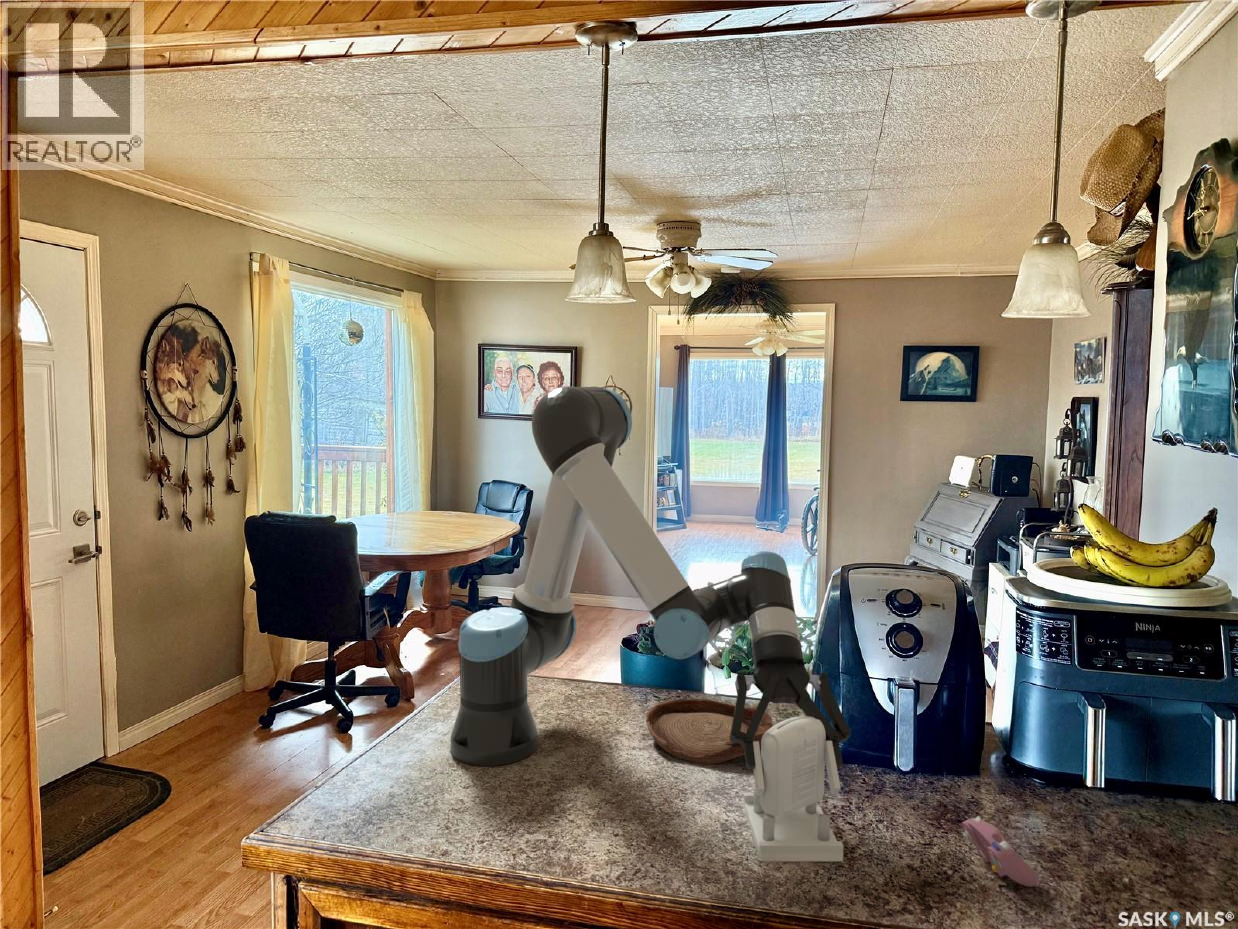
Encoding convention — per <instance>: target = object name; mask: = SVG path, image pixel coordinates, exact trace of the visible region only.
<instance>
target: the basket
mask: <svg viewBox="0 0 1238 929" xmlns="http://www.w3.org/2000/svg"><path fill="white" fill-rule="evenodd" d="M735 705H736V704H732V703H727V702H723V701H719V700H712V699H709V698H696V697H695V698H693V697H692V698H690V699H687V698H674V699H670V700H667V701H666V700H665V701H662V702H659V703H656V704H654V705H653V706H652V707H651V708H649V710H648V711H647V712H646V714H645V715H646V716H645V722H646V727H647V730H648V731H649V733H650V735H651V737H652V738H653V740H654V741H655V743H656V744H657V745H658V746H659V747H661V748H662V749H663V750H664V751H665V752H667V753H668V754H669V755H671V756H674V757H676V758H678V759H681V760H685V761H688V762H692V763H698V764H702V763H704V765H705V764H706V765H708V764H712V765H713V764H714V765H715V764H719V763H723V762H727V761H729V760H732V759H735V758H739V757H742V756H744V748H743V747H742V745H741V744H739V743H732V742H731V741H730V734H731V728H732V722H733V716H734V711H735ZM757 707H758V706H753V707H751V706H746V705H745V706H744V712H743V718H742V724H741V730H740V731H741V732H744V733H746V732H747V729H748V727H749V725H750V723H751V720H752V718H753V716H754V714H755V711H756V709H757ZM771 727H773V718H772V716H771V714H770V713H768V711H767V710H766V711H765V714H764V716H763V718H762V721H761V723H760V725H759V727H758V730H757V732H756V734H755V737H754V739H753V741H759V747H760V749H761V741H762V737H763V735H764V733H765V732H766V731H768V730H769V729H770V728H771Z"/></svg>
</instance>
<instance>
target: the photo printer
mask: <svg viewBox="0 0 1238 929" xmlns="http://www.w3.org/2000/svg"><path fill="white" fill-rule="evenodd" d="M825 743H826V733H825V729H824V726H823V724H822V722H821V721H820V720H818V719H815V718H814V717H809V716H806V715H800V716H795V717H790V718H787V719H784V720H782V721H779V722H778V723H776V724H774V725H772V727H771V728H770V729H769V730H768V731H766V732H765V733H764V735H763V737H762V741H761V748H760V755H761V763H762V771H763V780H764V788H765V789H764V791H763V794H762V795H760V805H761V806H762V809H763V811H764V812H765V813H767V814H769V815H772V816H781V815H785V814H788V813H790V812H793V811H796V810H798V809H801V808H803V807H806V806H808V805H811V804H813V803H816V802H818V803H819V802H820V801H821V800H823V798H824V793H825V770H826V769H825V768H826V763H825Z"/></svg>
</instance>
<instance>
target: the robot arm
mask: <svg viewBox="0 0 1238 929" xmlns="http://www.w3.org/2000/svg"><path fill="white" fill-rule="evenodd" d="M632 428H633V416H632V413H631V409H630V407H629V406H628V403H627V402H626V400H625V399H624V398H623V396H621V395H620V394H619V393H617V392H616V391H614V390H611V389H608V388H604V387H600V386H596V385H593V386H592V385H591V386H571V385H570V386H560V387H559V386H558V387H557V388H553V389H552V390H549V391H548V392H547V393H546V394H544V395H542V397H541V398H540V399H539V400H538V402H537V403H536V406H535V408H534V410H533V413H532V417H531V431H532V436H533V438H534V442H535V444H536V447H537V450H538V452H539V454H540V456H541V458H542V460H543V461H544V463H545V464H546V466H547V468H548V470H549V471H550V472H551V478H550V482H549V486H548V489H547V490H548V491H547V493H546V497H545V501H544V506H543V510H542V514H541V517H540V521H539V525H538V530H537V533H536V537H535V542H534V546H533V549H532V553H531V556H530V561H529V566H528V569H527V573H526V577H525V579H524V580H525V581H524V583H522V584H520V585H518V586H517V587H515V589H514V590H513V595H512V599H511V602H510V606H509V607H507V606H506V607H505V606H504V607H502V606H501V607H500V606H497V607H491V608H490V609H482V610H479V611H477V612H474V613H473V614H471V615H468V616H467V618H465V620H464V621H463V622H462V623H461V625H460V628H459V639H458V645H457V646H458V651H459V652H458V653H459V655H458V656H459V696H460V697H459V698H460V700H459V701H460V702H459V704H460V705H459V708H458V711H457V714H456V715H457V716H456V718H455V722H454V724H453V727H452V731H451V733H450V753H451V755H452V756H453V757H454V758H455V759H457V760H458V761H460V762H463V763H465V764H469V765H474V766H481V767H483V766H487V767H491V766H492V767H493V766H494V767H495V766H505V765H508V764H513V763H516V762H519V761H522V760H523V759H526V758H528V757H530V756H531V755H532V754H533V753H534V752H535V751H536V750H537V748H538V744H539V742H538V740H539V737H538V734H539V733H538V729H537V726H536V723H535V720H534V717H533V714H532V711H531V708H530V705H529V703H528V675H530V674H531V673H533V672H534V671H536V670H538V669H540V668H542V667H544V666H545V665H547V664H549V663H551V662H553V661H555V660H556V659H558V658H559V657H561V656H562V655H563V654H564V653H565V652H567V650H568V649H569V648H570V646H572V643H573V642H574V640H575V638H576V635H577V628H578V627H577V626H578V625H577V624H578V623H577V617H576V616H574V608H575V601H574V599H573V598H572V596H571V594H570V592H571V588H572V586H573V585H572V584H573V580H574V576H575V573H576V569H577V566H578V563H579V559H580V555H581V551H582V547H583V543H584V540H585V536H586V532H587V529H588V524H589V522H591V524H592V525H593V527H594V528H595V530H596V532H597V534H598V535H599V537H600V538H601V540H602V541H603V543H604V544H605V546H606V547H607V549H608V550H609V552H610V553H611V555H612V557H613V558H614V559H615V561H616V563H617V564H618V565H619V567H620V569H621V570H622V571H623V573H624V574H625V576H626V578H627V579H628V581H629V583H630V584H631V586H632V587H633V589H634V591H635V592H636V593H637V595H638V596H639V597H640V600H641V601H642V602H643V604H644V606H645V607H646V609H647V610H648V612H649V614H650V616H651V617H652V619H653V620H654V622H655V624H654V627H653V637H654V642H655V645H656V646H657V648H658V649H659V650H660V652H662V653H663V654H664V655H665V656H667V657H669V658H671V659H675V660H684V659H687V658H690V657H691V658H692V656H694V655H695V654H698V653H700V652H701V651H703V650H704V648H705V647H706V646H707V645H708V644H709V643H710V642H711V641H712V640H713V639H715V638H716V637H717V636H718V635H720V633H721V632H723V631H724V630H725V629H727V628H730V627H733V626H735V625H739V624H741V623H744V622H748V626H749V635H750V642H751V645H752V647H751V652H752V659H753V668H754V671H753V672H754V673H753V674H749V675H747V674H746V675H745V674H744V673H743V672H739V673H737V675H736V678H735V682H734V685H735V689H736V690H735V691H736V693H737V694H736V700H735V704H734V705H735V711H734V716H733V722H732V728H731V734H730V741H731V742H732V743H739V744H741V745H742V747H743V748H744V755H743V757H744V762H745V763H744V764H745V768H746V769H747V770H753V778H754V786H755V789H756V795H762V794H763V791H764V789H765V788H764V780H763V771H762V763H761V748H760V747H759V741H753V739H754V737H755V734H756V732H757V730H758V727H759V725H760V723H761V721H762V718H763V716H764V714H765V711H766V712H767V709H768V707H769V704H770V703H771V702H772V704H780V703H785V704H794V703H795V704H796V706H797V708H798V709H800V710H802V712H803V713H804V716H809V717H814V718H815V719H818V720H820V721H821V722H822V724H823V726H824V729H825V733H826V742H825V768H826V769H825V770H826V773H827V779H828V784H829V792H830V795H832V796H833V795H834V796H835V795H838V793H839V791H840V790H841V789H842V788H841V782H840V778H839V772H838V769H840V768H841V767H842V765H843V761H844V760H843V757H842V751H841V747H840V744H842V743H846V742H847V741H848V739H849V738H850V735H851V733H852V732H851V730H850V728H849V725H848V723H847V721H846V719H845V717H844V715H843V712H842V710H841V709H840V706H839V704H838V702H837V700H836V698H835V696H834V694H833V691H832V690H831V688H830V681H829V675H828V674H827V673H826V672H821V673H820V674H810V673H809V671H807V669H806V666H805V660H804V655H803V649H802V648H803V647H802V643H801V641H800V638H801V637H800V632H799V625H798V622H797V615H796V610H795V605H794V598H793V591H792V586H791V583H792V581H791V578H790V574H789V571H788V566H787V563H786V561H785V559H784V558H783V557H782V556H781V555H780V554H778V553H776V552H773V551H764V550H763V551H755V552H753V553H751V554H748V556H747V557H746V558H744V559H743V560H742V561H741V567H740V568H741V569H740V572H741V573H739V574H737V575H734V576H732V577H730V578H728V579H724V580H722V581H719V582H716V583H713V584H710V585H706V586H704V587H701V588H695V589H693V590H692V588H691V586H690V585H689V583H688V582H687V580H686V579H685V577H684V576H683V574H682V573H681V571H680V569H679V568H678V566H677V565H676V563H675V561H674V560H673V559H672V557H671V556H670V554H669V552H668V551H667V549H666V548H665V547H664V545H663V543H662V542H661V540H660V539H659V537H658V536H657V534H656V533H655V531H654V530H653V528H652V527H651V525H650V524H649V522H648V520H647V519H646V518H645V517H644V515H643V513H642V511H641V510H640V509H639V507H638V505H637V504H636V502H635V501H634V500H633V498H632V496H631V495H630V493H629V491H628V490H627V488H626V487H625V486H624V484H623V483H622V481H621V479H620V478H619V477H618V475H617V473H616V472H615V471H614V469H613V468H612V467H613V463H614V460H615V456H616V453H617V450H618V449H619V448H621V447H622V446H624V444H625V443H626V442H627V440H628V438H629V437H630V435H631V433H632V432H631V431H632ZM808 684H810V685H811V686H812V687H813V689H814V691H817V694H818V697H819V700H820V702H821V704H822V706H823V708H824V711H825V713H826V715H827V716H828V719H827V718H826V717H825V715H824V713H823V712H822V711H821V710H820V708H819V706H817V705H816V704H815V702H814V701H813V699H812V698H811V695H810V693H809V691H807V690H808V689H807V686H808ZM752 685H754V686H755V687H756V688H757V689H758V691H760V692H761V694H762V696H761V697H760V701H759V703H758V705H757V706H756V707H757V709H756V711H755V714H754V716H753V718H752V720H751V723H750V725H749V727H748V729H747V732H746V733H744V732H741V731H740V730H741V724H742V718H743V712H744V706H745V707H746V699H747V693H748V691H750V690H751V686H752Z"/></svg>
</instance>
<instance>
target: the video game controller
mask: <svg viewBox="0 0 1238 929" xmlns="http://www.w3.org/2000/svg"><path fill="white" fill-rule="evenodd" d="M961 827H962V829H963V831H964V832H962V835H963V839H964V840H966V841H967V842H970V841H971V843H972V844H973V846H974V847H975V848H976V850H977V852H978V853H979V855H980V856H981V858H982V859H983V860H984V861H985V863H989V862H990V864H991V865H990V866H991V869H992V871H993V872H995V873H996V874H997V875H998V876H999V877H1000V878H1003V877H1004V876H1008V877H1009V878H1010V879H1012V881H1014V882H1015V883H1017V884H1020V885H1022V886H1025V887H1028V888H1031V887H1036V885H1037V884H1038V883H1039V875H1038V873H1037V871H1036V869H1034V868H1033V867H1032V866H1030V865H1029V864H1027V863H1026V862H1025V861H1024V860H1023V859H1022V858H1021V857H1020V855H1018V853H1017V852H1016V850H1015V849H1014V848H1013V847H1012V846H1011V844H1010V843H1009V842H1008V841H1007V840H1006V839H1005V838H1004V836H1003V833H1002V832H1001V831H1000V829H999V828H998V827H997V826H995V825H993V824H991V823H989V822H987V821H985V820H983V819H982V818H981V817H980V815H978V816H976V817H974V818H973V817H971V818H968V819H966V820H965V821H964V820H963V821H962V822H961Z"/></svg>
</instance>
